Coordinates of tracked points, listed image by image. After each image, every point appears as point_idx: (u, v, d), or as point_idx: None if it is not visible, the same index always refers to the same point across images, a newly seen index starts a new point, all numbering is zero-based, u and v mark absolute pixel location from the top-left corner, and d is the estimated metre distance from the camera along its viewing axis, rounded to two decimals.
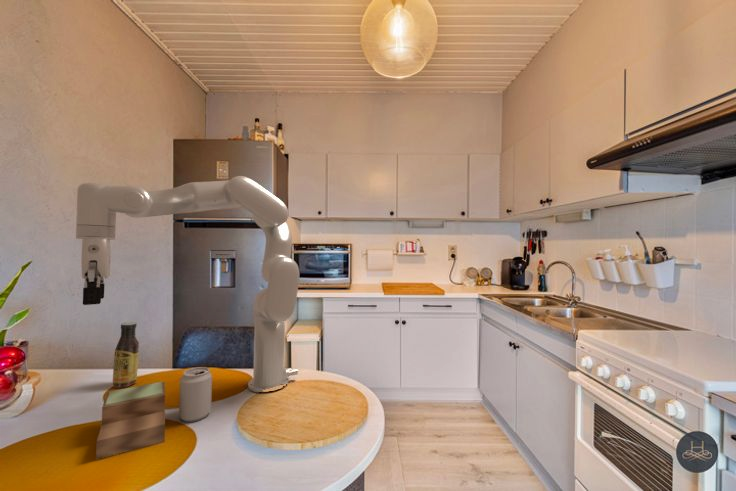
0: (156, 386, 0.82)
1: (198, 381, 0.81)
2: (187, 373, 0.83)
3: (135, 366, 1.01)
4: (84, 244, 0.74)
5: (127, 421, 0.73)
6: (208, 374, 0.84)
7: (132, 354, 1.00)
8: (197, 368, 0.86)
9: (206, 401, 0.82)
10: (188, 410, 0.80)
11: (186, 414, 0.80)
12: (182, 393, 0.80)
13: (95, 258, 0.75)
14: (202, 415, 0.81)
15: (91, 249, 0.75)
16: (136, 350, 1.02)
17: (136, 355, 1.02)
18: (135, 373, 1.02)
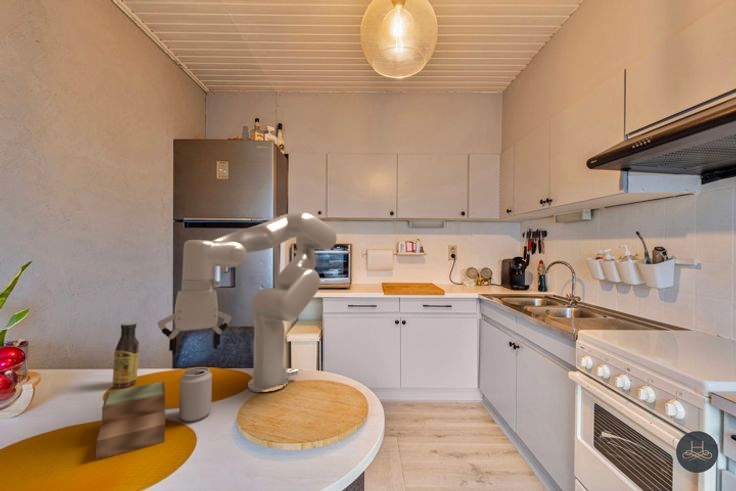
0: (156, 386, 0.82)
1: (198, 381, 0.81)
2: (187, 373, 0.83)
3: (135, 366, 1.01)
4: (216, 296, 0.85)
5: (127, 421, 0.73)
6: (208, 374, 0.84)
7: (132, 354, 1.00)
8: (197, 368, 0.86)
9: (206, 401, 0.82)
10: (188, 410, 0.80)
11: (185, 414, 0.80)
12: (182, 393, 0.80)
13: None
14: (202, 415, 0.81)
15: None
16: (136, 350, 1.02)
17: (136, 355, 1.02)
18: (135, 373, 1.02)
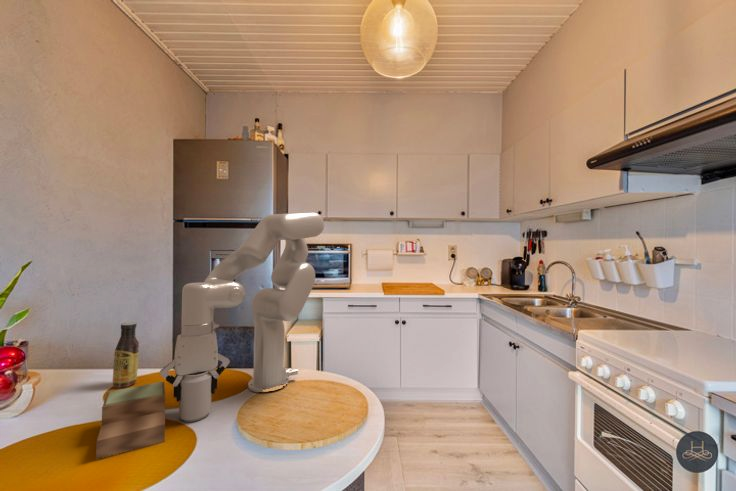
0: (156, 386, 0.82)
1: (198, 381, 0.81)
2: None
3: (135, 366, 1.01)
4: (215, 339, 0.85)
5: (127, 421, 0.73)
6: (208, 374, 0.84)
7: (132, 354, 1.00)
8: None
9: (206, 401, 0.82)
10: (188, 410, 0.80)
11: (186, 414, 0.80)
12: (182, 393, 0.80)
13: None
14: (202, 415, 0.81)
15: None
16: (136, 350, 1.02)
17: (136, 355, 1.02)
18: (135, 373, 1.02)
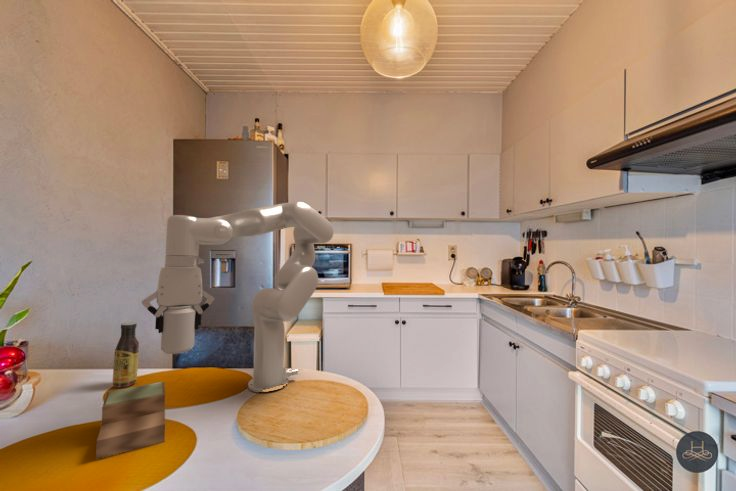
0: (156, 386, 0.82)
1: (181, 313, 0.79)
2: None
3: (135, 366, 1.01)
4: (200, 273, 0.83)
5: (127, 421, 0.73)
6: (192, 308, 0.82)
7: (132, 354, 1.00)
8: None
9: (189, 335, 0.81)
10: (170, 341, 0.78)
11: (167, 346, 0.78)
12: (164, 324, 0.78)
13: None
14: (184, 348, 0.80)
15: None
16: (136, 350, 1.02)
17: (136, 355, 1.02)
18: (135, 373, 1.02)
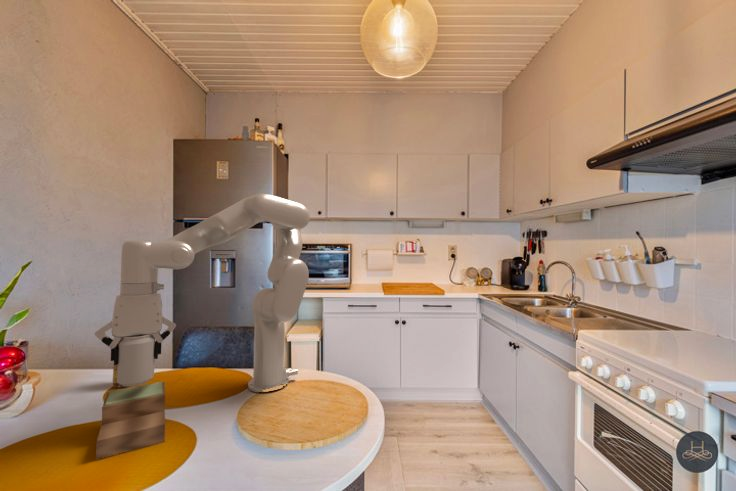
0: (156, 386, 0.82)
1: (137, 343, 0.76)
2: None
3: None
4: (159, 300, 0.80)
5: (127, 421, 0.73)
6: (150, 337, 0.79)
7: None
8: None
9: (147, 365, 0.77)
10: (125, 374, 0.75)
11: (123, 378, 0.75)
12: (120, 356, 0.75)
13: None
14: (142, 380, 0.76)
15: None
16: None
17: None
18: None
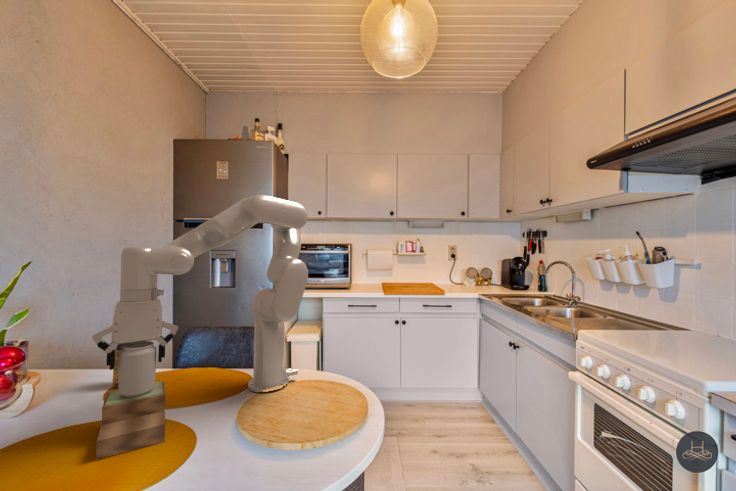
0: (156, 386, 0.82)
1: (138, 354, 0.76)
2: (128, 347, 0.78)
3: None
4: (159, 306, 0.80)
5: (127, 421, 0.73)
6: (151, 348, 0.79)
7: None
8: (141, 342, 0.81)
9: (148, 376, 0.77)
10: (126, 385, 0.75)
11: (124, 389, 0.75)
12: (121, 367, 0.75)
13: None
14: (143, 391, 0.76)
15: None
16: None
17: None
18: None
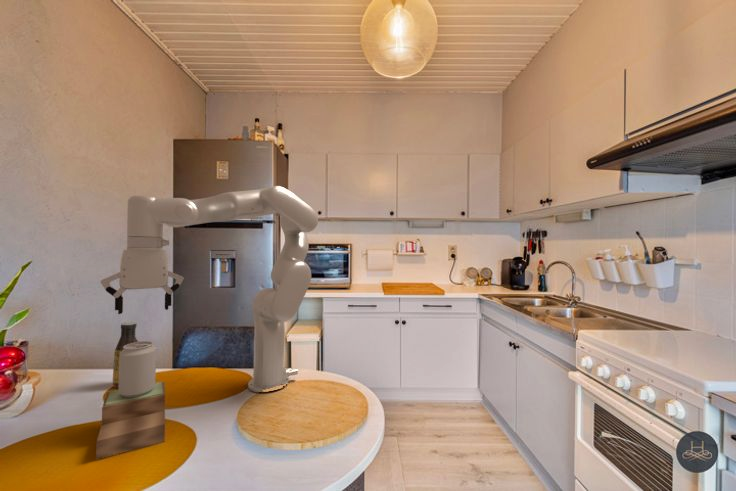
0: (156, 386, 0.82)
1: (138, 354, 0.76)
2: (128, 347, 0.78)
3: None
4: (165, 255, 0.82)
5: (127, 421, 0.73)
6: (151, 348, 0.79)
7: None
8: (141, 342, 0.81)
9: (148, 376, 0.77)
10: (126, 385, 0.75)
11: (124, 389, 0.75)
12: (121, 367, 0.75)
13: None
14: (143, 391, 0.76)
15: None
16: None
17: None
18: None
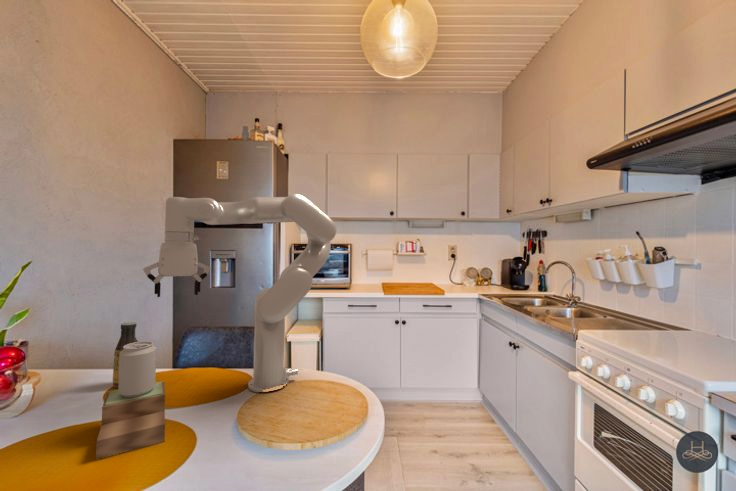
0: (156, 386, 0.82)
1: (138, 354, 0.76)
2: (128, 347, 0.78)
3: None
4: (195, 248, 0.95)
5: (127, 421, 0.73)
6: (151, 348, 0.79)
7: None
8: (141, 342, 0.81)
9: (148, 376, 0.77)
10: (127, 385, 0.75)
11: (124, 389, 0.75)
12: (121, 367, 0.75)
13: None
14: (143, 391, 0.76)
15: None
16: None
17: None
18: None
